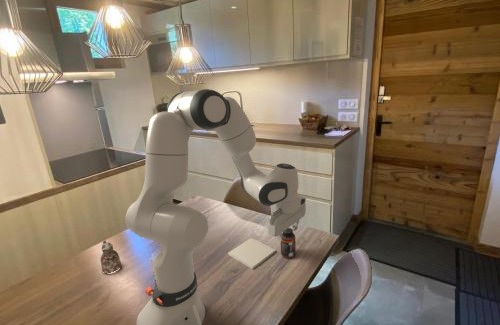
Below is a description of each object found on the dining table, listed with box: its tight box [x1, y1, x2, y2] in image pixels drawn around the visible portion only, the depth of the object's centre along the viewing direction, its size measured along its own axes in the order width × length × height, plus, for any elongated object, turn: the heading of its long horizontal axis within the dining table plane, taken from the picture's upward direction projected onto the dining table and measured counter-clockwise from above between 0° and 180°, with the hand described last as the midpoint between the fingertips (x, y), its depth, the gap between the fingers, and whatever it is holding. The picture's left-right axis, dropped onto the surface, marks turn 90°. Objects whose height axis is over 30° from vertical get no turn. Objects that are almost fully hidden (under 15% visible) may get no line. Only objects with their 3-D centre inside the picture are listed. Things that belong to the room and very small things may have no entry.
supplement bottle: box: [280, 227, 297, 259], centre depth 112 cm, size 6×6×11 cm
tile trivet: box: [227, 237, 277, 270], centre depth 115 cm, size 14×14×1 cm
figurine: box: [100, 240, 122, 273], centre depth 110 cm, size 7×7×12 cm
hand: (287, 234), depth 111 cm, fingers open, 8 cm apart
